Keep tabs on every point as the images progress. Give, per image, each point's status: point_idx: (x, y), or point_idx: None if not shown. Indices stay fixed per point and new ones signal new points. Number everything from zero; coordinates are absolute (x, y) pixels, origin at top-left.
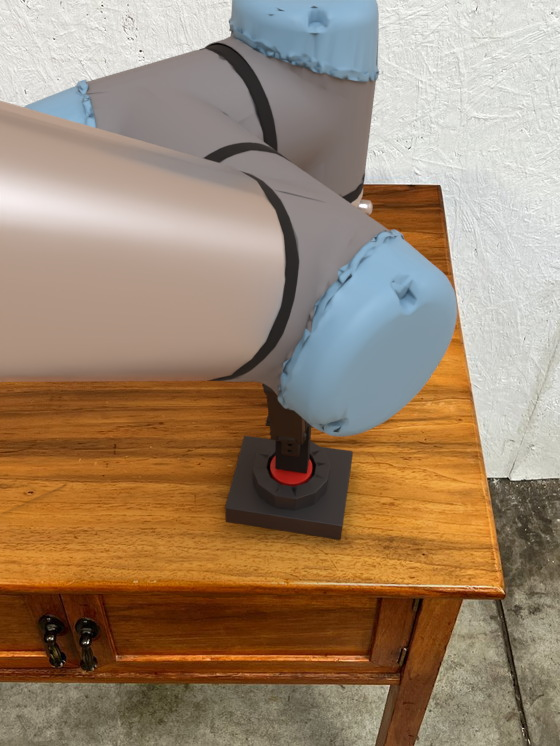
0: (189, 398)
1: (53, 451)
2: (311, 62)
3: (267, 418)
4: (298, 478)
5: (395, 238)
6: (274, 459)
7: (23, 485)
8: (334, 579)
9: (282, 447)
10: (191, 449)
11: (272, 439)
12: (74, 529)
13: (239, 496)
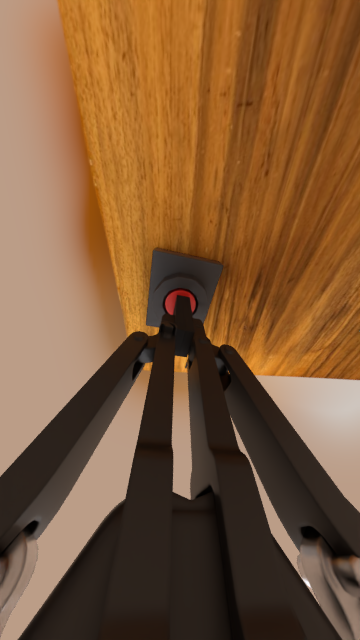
0: (289, 206)
1: None
2: None
3: (167, 327)
4: (169, 309)
5: None
6: (187, 293)
7: None
8: (124, 312)
9: (161, 320)
10: (227, 212)
11: (130, 335)
12: (133, 49)
13: (163, 262)
